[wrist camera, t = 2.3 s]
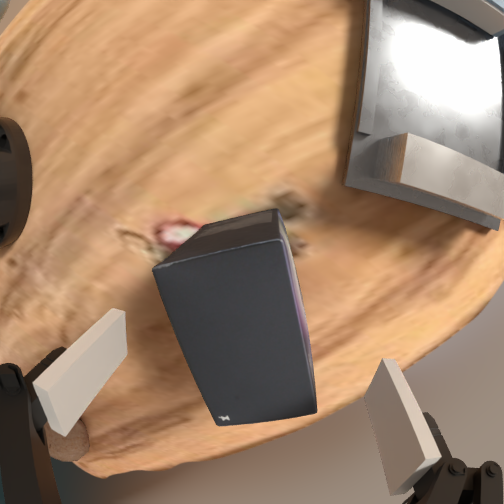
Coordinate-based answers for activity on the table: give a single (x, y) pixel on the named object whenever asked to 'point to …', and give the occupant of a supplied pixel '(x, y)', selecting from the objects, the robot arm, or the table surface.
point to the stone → (68, 442)
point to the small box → (241, 319)
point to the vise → (429, 111)
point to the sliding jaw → (479, 13)
